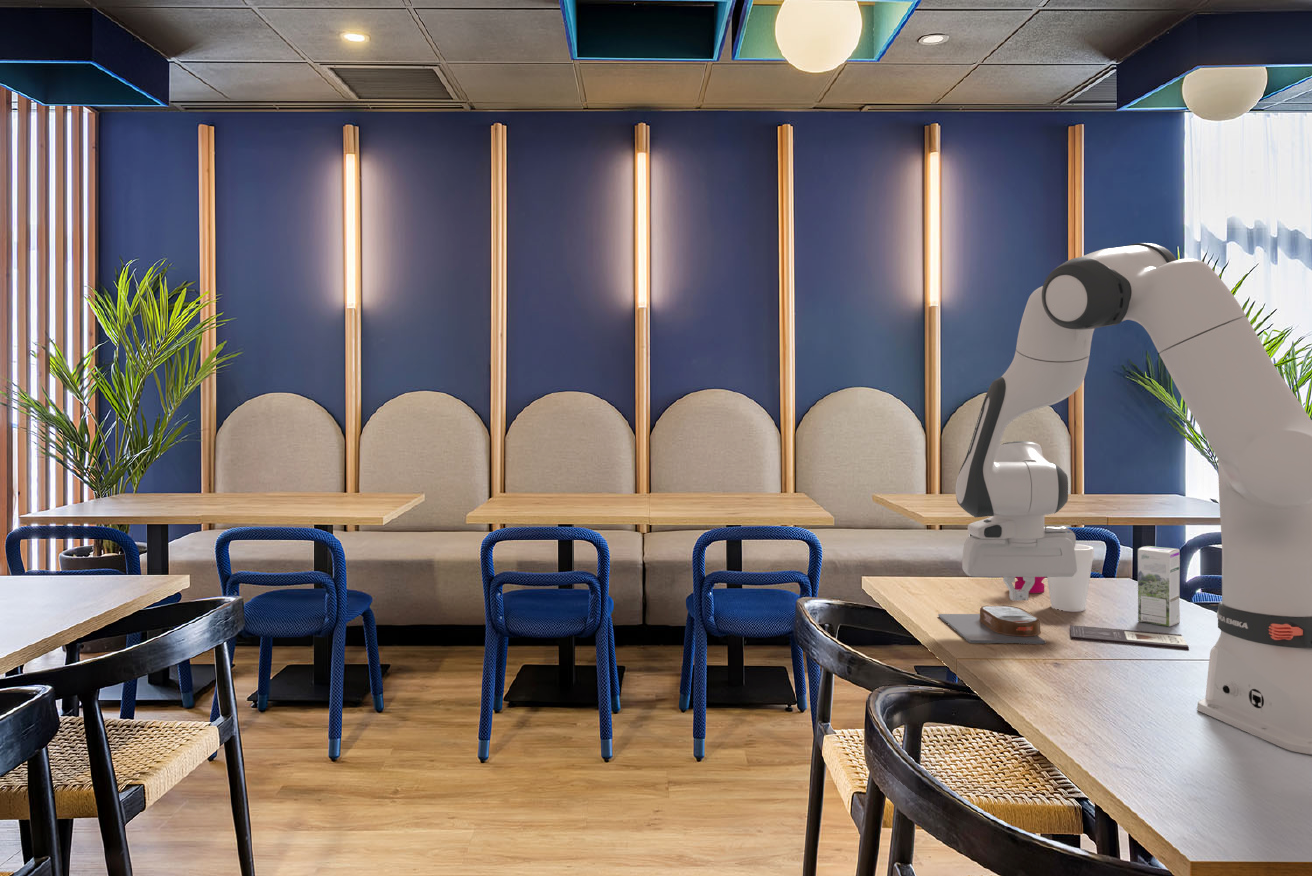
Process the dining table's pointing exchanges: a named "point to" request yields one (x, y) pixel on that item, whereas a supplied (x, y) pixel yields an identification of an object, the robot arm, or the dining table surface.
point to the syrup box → (1158, 585)
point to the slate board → (983, 630)
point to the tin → (1010, 620)
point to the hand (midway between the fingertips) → (1018, 599)
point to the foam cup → (1073, 583)
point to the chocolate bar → (1128, 637)
